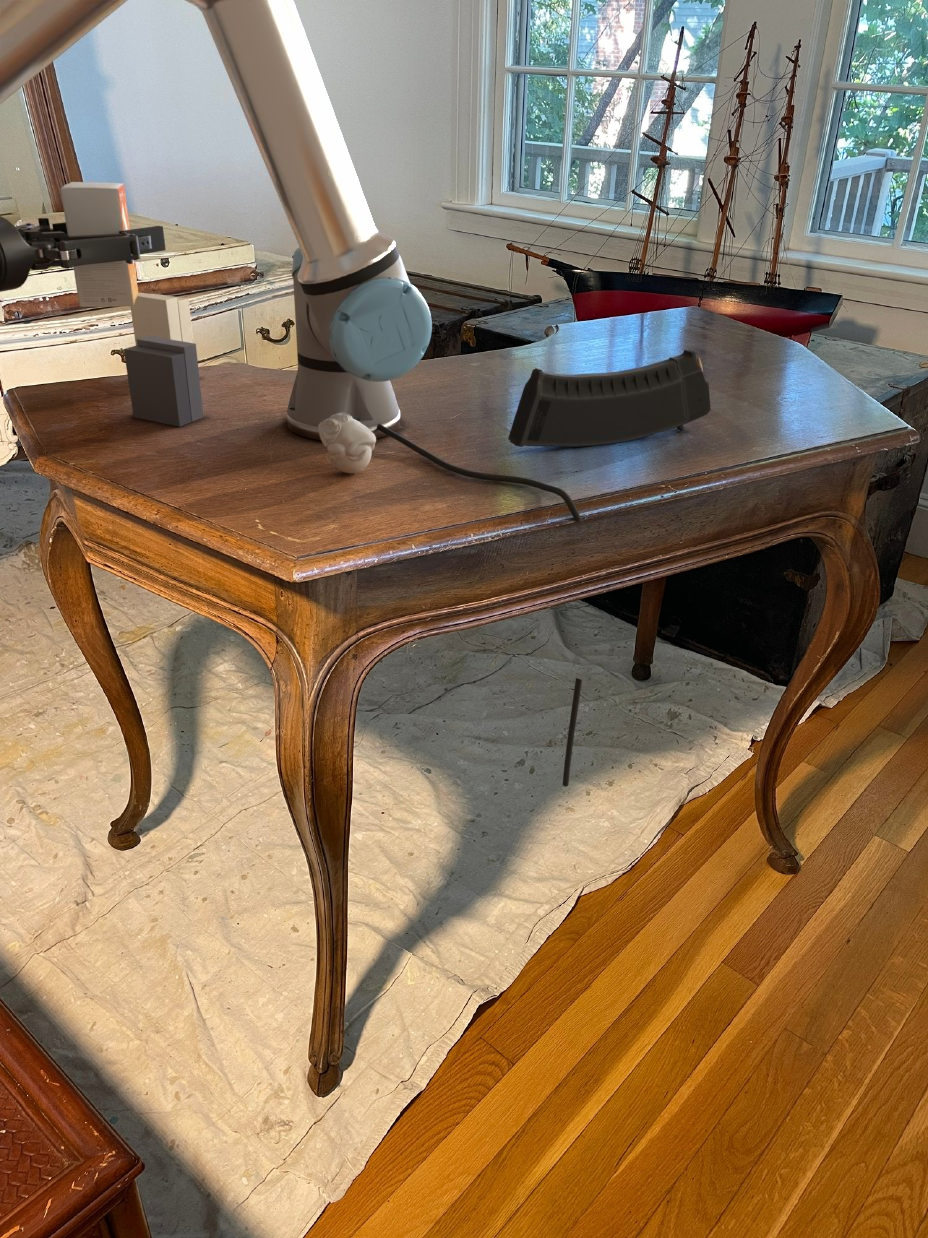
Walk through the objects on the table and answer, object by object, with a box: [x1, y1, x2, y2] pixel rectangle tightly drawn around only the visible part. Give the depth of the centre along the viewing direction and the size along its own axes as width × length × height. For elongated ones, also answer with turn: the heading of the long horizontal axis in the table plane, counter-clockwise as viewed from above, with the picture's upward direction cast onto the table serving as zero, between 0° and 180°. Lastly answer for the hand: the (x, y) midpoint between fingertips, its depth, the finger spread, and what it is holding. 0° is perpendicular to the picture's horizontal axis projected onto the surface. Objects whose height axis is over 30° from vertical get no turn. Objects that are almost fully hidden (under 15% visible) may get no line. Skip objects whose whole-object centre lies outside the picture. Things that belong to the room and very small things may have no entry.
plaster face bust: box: [318, 413, 377, 474], centre depth 108 cm, size 6×7×7 cm
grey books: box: [123, 336, 205, 427], centre depth 123 cm, size 8×5×10 cm, turn 65°
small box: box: [60, 181, 139, 308], centre depth 110 cm, size 8×6×13 cm
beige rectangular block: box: [129, 292, 194, 346], centre depth 139 cm, size 7×5×12 cm
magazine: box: [507, 348, 712, 448], centre depth 121 cm, size 17×3×30 cm
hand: (128, 234), depth 113 cm, fingers closed on small box, 10 cm apart
